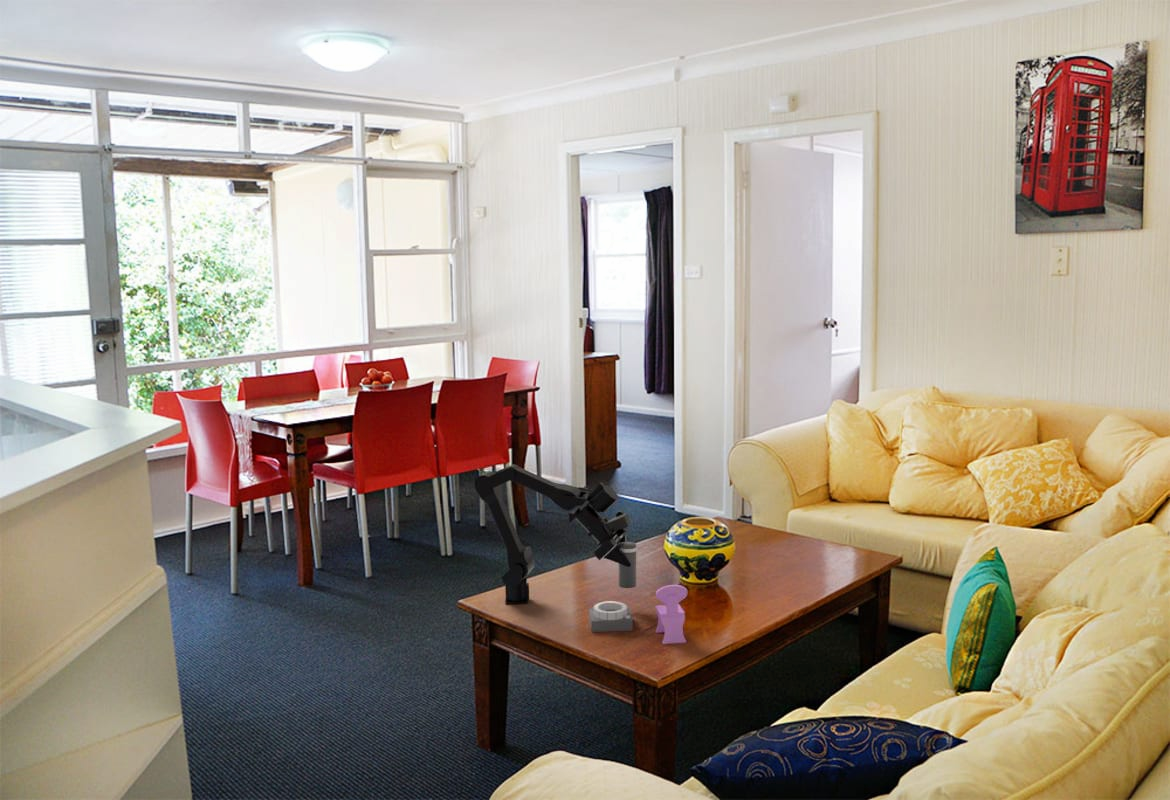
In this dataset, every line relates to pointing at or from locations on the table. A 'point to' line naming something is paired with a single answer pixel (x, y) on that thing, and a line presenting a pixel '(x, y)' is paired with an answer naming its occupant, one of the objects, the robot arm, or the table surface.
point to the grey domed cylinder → (628, 573)
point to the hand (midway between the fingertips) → (632, 563)
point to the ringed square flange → (610, 617)
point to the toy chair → (671, 613)
